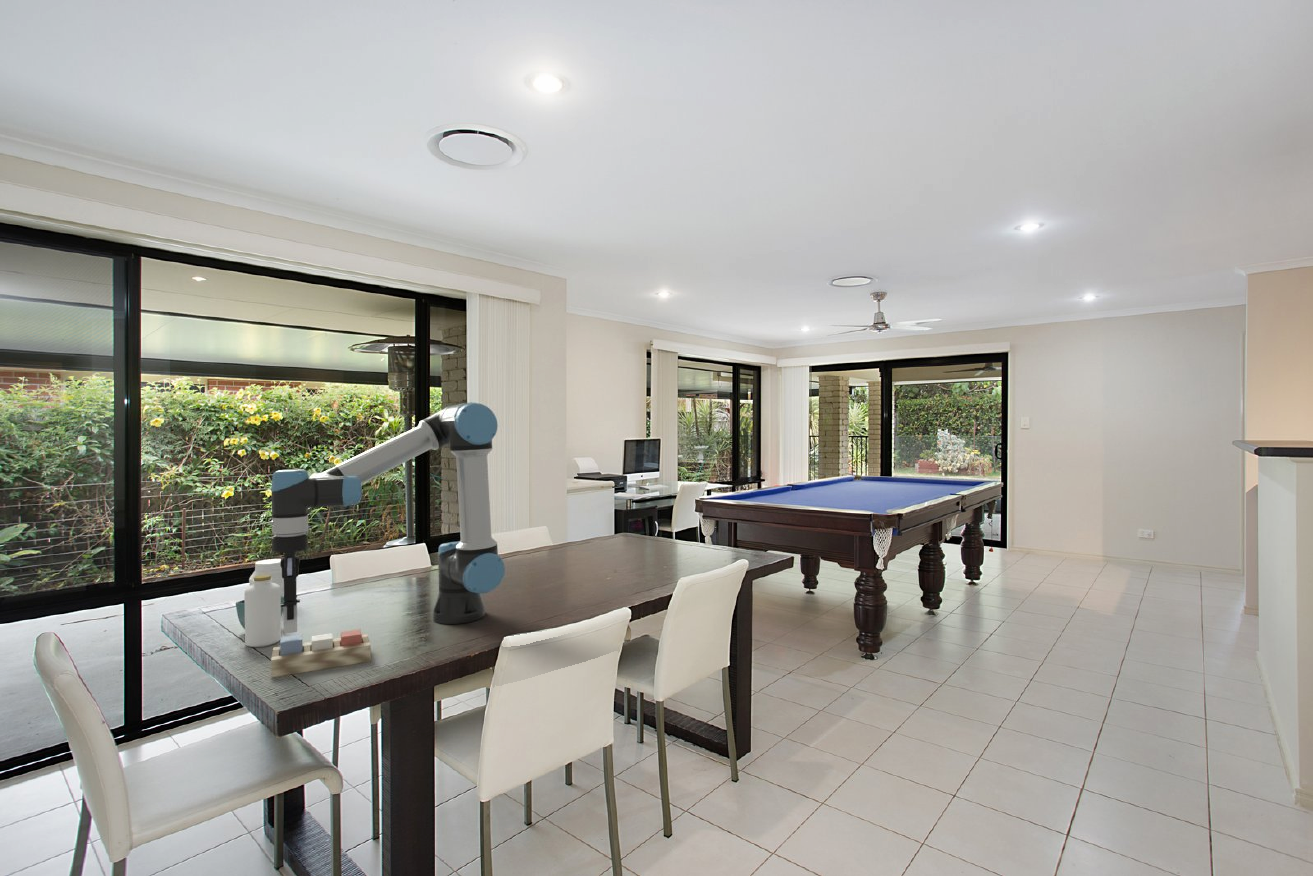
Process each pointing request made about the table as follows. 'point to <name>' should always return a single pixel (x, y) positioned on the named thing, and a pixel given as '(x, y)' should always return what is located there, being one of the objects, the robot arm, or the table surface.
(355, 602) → the table surface
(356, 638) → the red key
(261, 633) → the potion bottle
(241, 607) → the flower pot
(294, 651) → the blue short block
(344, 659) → the wooden block holder
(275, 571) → the jar
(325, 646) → the white key
